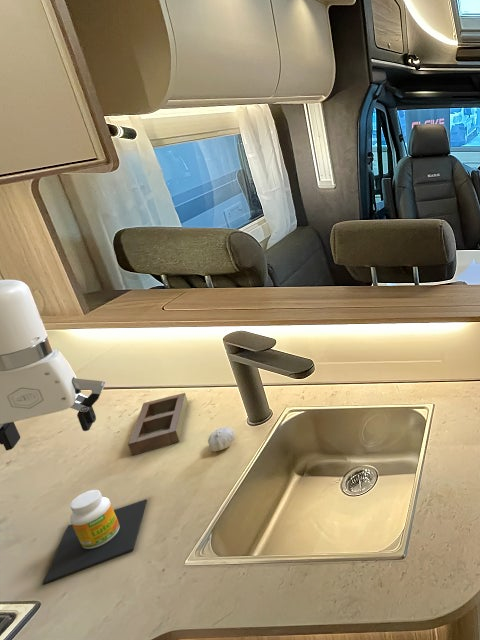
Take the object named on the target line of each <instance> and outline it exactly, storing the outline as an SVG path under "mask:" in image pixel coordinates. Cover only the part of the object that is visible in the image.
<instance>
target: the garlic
mask: <svg viewBox="0 0 480 640" xmlns="http://www.w3.org/2000/svg"><path fill="white" fill-rule="evenodd" d="M235 436H236V435H235V431H234V429H233V428H230V427H228V426H222V427H220V428H217V429H215V430H214V431H212V432H211V433H210V434H209V437H208V440H207V444H208V449H209V451H211V452H219V451H223V450H225V449H227V448H229V446H231V445H232V443H233V442H234V441H235Z"/></svg>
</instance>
